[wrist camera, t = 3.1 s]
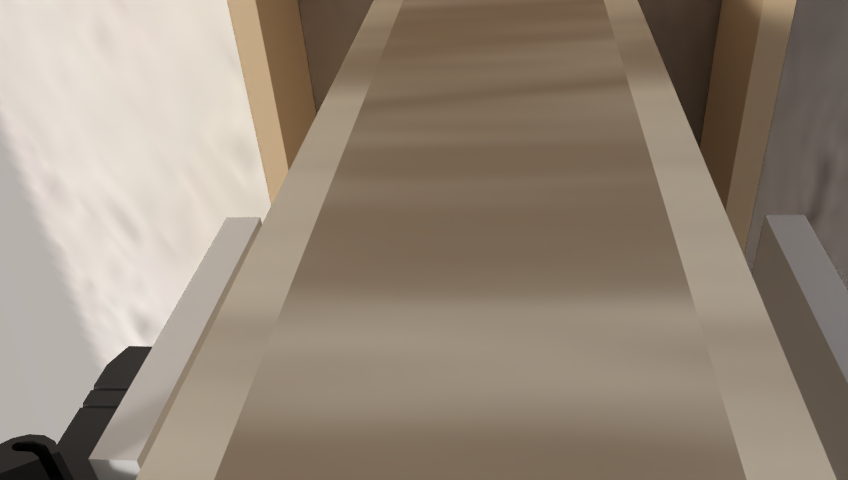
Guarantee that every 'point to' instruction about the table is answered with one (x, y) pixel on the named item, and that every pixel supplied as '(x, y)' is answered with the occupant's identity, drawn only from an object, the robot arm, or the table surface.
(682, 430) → the box
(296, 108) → the carton
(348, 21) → the table surface
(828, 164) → the table surface
